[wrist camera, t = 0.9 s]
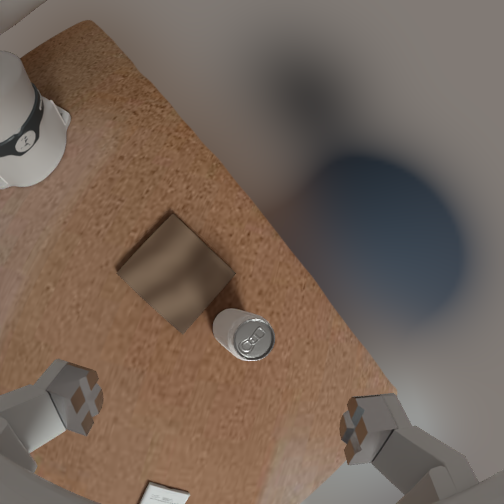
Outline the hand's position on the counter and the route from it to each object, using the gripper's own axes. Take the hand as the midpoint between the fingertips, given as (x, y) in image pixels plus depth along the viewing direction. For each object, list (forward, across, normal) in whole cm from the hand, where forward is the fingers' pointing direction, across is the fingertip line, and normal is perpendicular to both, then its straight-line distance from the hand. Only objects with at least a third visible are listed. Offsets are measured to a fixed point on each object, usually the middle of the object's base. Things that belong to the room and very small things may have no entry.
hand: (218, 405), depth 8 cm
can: (+36, +1, +19) cm, 41 cm away
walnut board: (+36, +11, +11) cm, 39 cm away
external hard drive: (+16, +13, +54) cm, 58 cm away
